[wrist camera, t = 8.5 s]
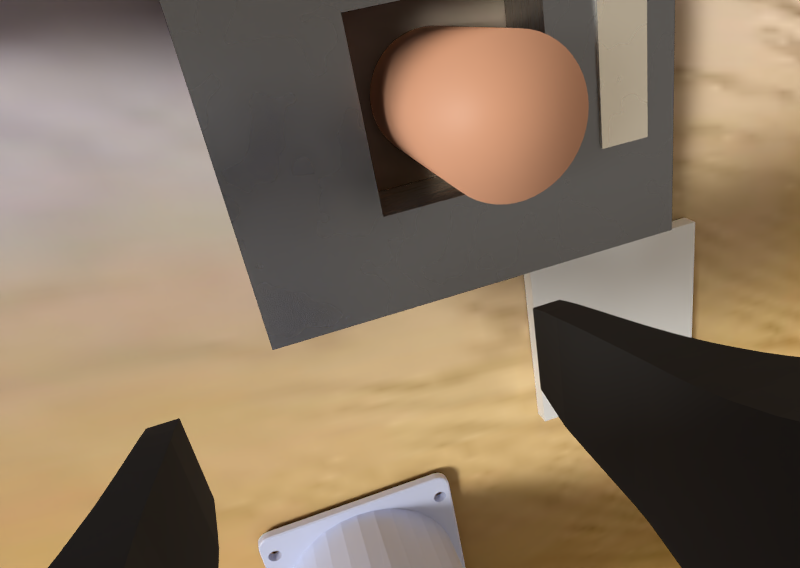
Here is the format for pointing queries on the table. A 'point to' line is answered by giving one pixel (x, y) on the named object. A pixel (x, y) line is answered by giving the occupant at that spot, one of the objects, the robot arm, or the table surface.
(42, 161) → the table surface
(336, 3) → the hole plate
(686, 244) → the tile
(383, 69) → the peg
